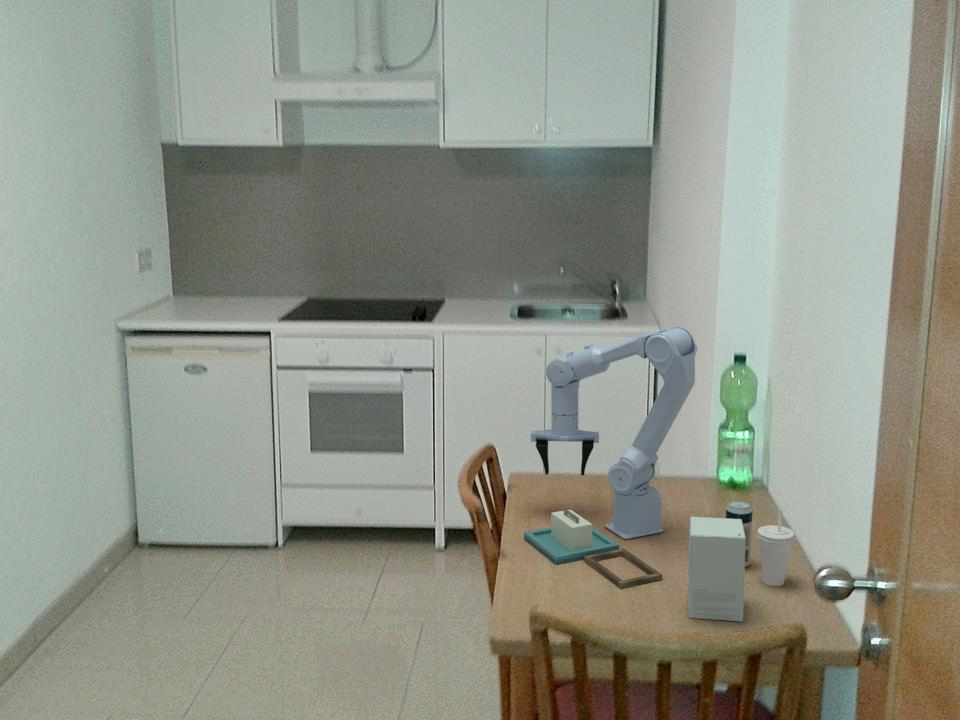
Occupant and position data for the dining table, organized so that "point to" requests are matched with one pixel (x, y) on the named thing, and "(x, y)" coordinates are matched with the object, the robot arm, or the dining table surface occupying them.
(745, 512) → the beer can
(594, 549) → the tray
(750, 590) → the dining table surface
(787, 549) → the smoothie
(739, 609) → the supplement box
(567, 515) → the white block with handle
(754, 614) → the dining table surface
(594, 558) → the brown flat rectangular frame
